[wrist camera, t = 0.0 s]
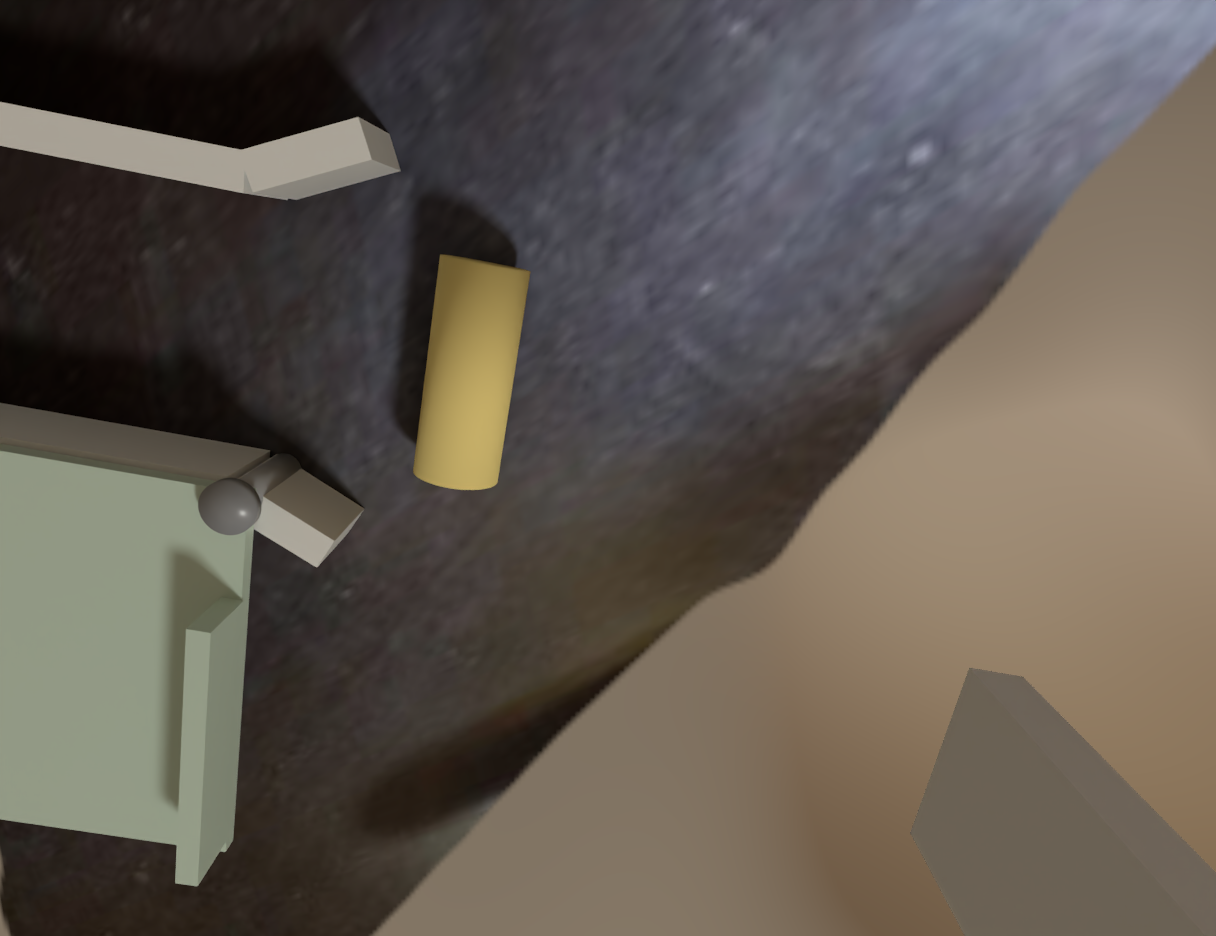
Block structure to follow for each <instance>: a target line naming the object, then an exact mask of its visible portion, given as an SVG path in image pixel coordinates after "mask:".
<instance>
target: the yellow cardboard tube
mask: <svg viewBox="0 0 1216 936" xmlns="http://www.w3.org/2000/svg"><path fill="white" fill-rule="evenodd" d="M529 277H530V271H528V270H524V269H520V268H516V267H512V266H507V265H502V264H496V263H491V262H486V261H481V260H476V259H470V258H464V257H458V256H451V255H442V254H441V255H440V259H439V267H438V275H437V284H436V292H435V300H434V308H433V316H432V324H431V332H430V340H429V348H428V356H427V364H426V372H425V380H424V388H423V396H422V404H421V412H420V420H419V428H418V436H417V444H416V452H415V460H414V468H413V472H414V474H415V475H416V476H417V477H418V478H419V479H421V480H423V481H425V482H428V483H431V484H434V485H437V486H441V487H446V488H452V489H461V490H480V489H486V488H490V487H493V486H495V485H496V484H497V482H498V475H499V469H500V463H501V456H502V450H503V443H504V437H505V431H506V424H507V418H508V411H509V405H510V399H511V392H512V386H513V379H514V373H515V367H516V360H517V354H518V348H519V341H520V335H521V328H522V322H523V316H524V309H525V303H526V296H527V290H528V284H529Z"/></svg>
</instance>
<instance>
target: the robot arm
mask: <svg viewBox="0 0 1216 936" xmlns="http://www.w3.org/2000/svg"><path fill="white" fill-rule="evenodd" d="M910 833H911V835H912V837H913V839H914V841H915V843H916V845H917V846H918V848H919V850H920V852H921V854H922V856H923V858H924V860H925V862H926V864H927V865H928V867H929V869H930V871H931V873H932V875H933V877H934V878H935V880H936V882H937V884H938V886H939V888H940V890H941V892H942V894H943V896H944V897H945V899H946V901H947V903H948V905H949V907H950V909H951V911H952V913H953V914H954V916H955V918H956V920H957V922H958V924H959V926H960V928H961V930H962V932H963V933H964V935H965V936H1216V872H1215V871H1214V870H1213V869H1212V868H1211V867H1210V866H1209V865H1208V864H1207V863H1206V862H1205V861H1204V860H1203V859H1202V858H1201V857H1200V856H1199V855H1198V854H1197V853H1196V852H1195V851H1194V850H1193V849H1192V848H1191V847H1190V846H1189V845H1188V844H1187V843H1186V842H1185V841H1184V840H1183V839H1182V838H1181V837H1180V836H1179V835H1178V834H1177V833H1176V832H1175V831H1174V830H1173V829H1172V828H1171V827H1170V826H1169V825H1168V823H1166V822H1165V820H1163V818H1162V817H1161V816H1159V814H1158V813H1157V812H1156V811H1155V810H1154V809H1153V808H1151V806H1150V805H1149V804H1148V803H1147V802H1146V801H1145V800H1144V799H1143V798H1142V797H1141V796H1140V795H1139V794H1138V793H1137V792H1136V791H1135V790H1134V789H1133V788H1132V787H1131V786H1130V785H1129V784H1128V783H1127V782H1126V781H1125V780H1124V779H1123V778H1122V777H1121V776H1120V775H1119V774H1118V773H1117V772H1116V771H1115V770H1114V769H1113V768H1112V767H1111V766H1110V765H1109V764H1108V763H1107V762H1106V761H1105V760H1104V759H1103V758H1102V757H1101V756H1100V755H1099V754H1098V753H1097V751H1096V750H1094V748H1092V746H1091V745H1089V743H1088V742H1087V741H1086V740H1085V739H1084V738H1083V737H1082V736H1081V735H1080V734H1079V733H1078V732H1077V731H1076V730H1075V729H1074V728H1073V727H1072V726H1071V725H1070V724H1069V723H1068V722H1067V721H1066V720H1065V719H1064V718H1063V717H1062V716H1061V715H1060V714H1059V713H1058V712H1057V711H1056V710H1055V709H1054V708H1053V707H1052V706H1051V705H1050V704H1049V703H1048V702H1047V701H1046V700H1045V699H1044V698H1043V697H1042V696H1041V695H1040V694H1039V693H1038V692H1037V691H1036V690H1035V689H1034V688H1033V687H1032V686H1031V685H1030V684H1029V683H1028V682H1027V681H1026V680H1025V679H1024V677H1020V676H1015V675H1009V674H1003V673H997V672H992V671H985V670H980V669H973V668H969V670H968V673H967V676H966V679H965V682H964V684H963V687H962V690H961V693H960V696H959V698H958V701H957V704H956V707H955V710H954V712H953V715H952V718H951V721H950V724H949V726H948V729H947V732H946V735H945V737H944V740H943V743H942V746H941V749H940V751H939V754H938V757H937V760H936V763H935V765H934V768H933V771H932V774H931V777H930V779H929V782H928V785H927V788H926V791H925V793H924V796H923V799H922V802H921V804H920V807H919V810H918V813H917V816H916V819H915V821H914V824H913V827H912V830H911V832H910Z"/></svg>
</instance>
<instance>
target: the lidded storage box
mask: <svg viewBox="0 0 1216 936" xmlns="http://www.w3.org/2000/svg"><path fill="white" fill-rule="evenodd" d="M0 146H5V147H10V148H16V149H21V150H26V151H31V152H36V153H41V154H46V155H51V156H56V157H62V158H67V159H72V160H77V161H82V162H87V163H92V164H97V165H102V166H108V167H113V168H118V169H123V170H128V171H133V172H138V173H143V174H148V175H154V176H159V177H164V178H169V179H174V180H179V181H184V182H189V183H194V184H200V185H205V186H210V187H215V188H220V189H225V190H230V191H235V192H240V193H246V194H252V195H259V196H265V197H271V198H278V199H284V200H288V198H289V199H295V200H297V199H301V198H304V197H308V196H312V195H315V194H319V193H322V192H326V191H330V190H333V189H337V188H341V187H344V186H348V185H351V184H355V183H359V182H362V181H366V180H370V179H373V178H377V177H380V176H384V175H388V174H391V173H395V172H399V171H401V170H400V167H399V164H398V161H397V157H396V154H395V151H394V148H393V144H392V141H391V138H390V135H389V133H387V132H385V131H383V130H381V129H380V128H378V127H376V126H374V125H372V124H370V123H369V122H367V121H365V120H363V119H361V118H359V117H356V118H353V119H349V120H345V121H342V122H338V123H335V124H331V125H328V126H324V127H321V128H317V129H313V130H310V131H306V132H303V133H299V134H296V135H292V136H289V137H285V138H281V139H278V140H274V141H271V142H267V143H264V144H260V145H257V146H253V147H249V148H246V149H242V150H240V149H234V148H229V147H224V146H219V145H214V144H209V143H204V142H199V141H194V140H189V139H184V138H179V137H174V136H169V135H164V134H159V133H154V132H149V131H144V130H139V129H134V128H129V127H124V126H119V125H114V124H109V123H104V122H99V121H94V120H89V119H84V118H79V117H74V116H69V115H64V114H59V113H54V112H49V111H43V110H38V109H33V108H28V107H23V106H18V105H13V104H8V103H3V102H0ZM0 444H5V445H11V446H17V447H23V448H28V449H34V450H40V451H46V452H51V453H57V454H63V455H69V456H75V457H80V458H86V459H92V460H98V461H103V462H109V463H115V464H121V465H126V466H132V467H138V468H144V469H149V470H155V471H161V472H167V473H172V474H178V475H184V476H190V477H196V478H201V479H207V480H213V481H217V480H220V479H223V478H237V479H240V480H243V481H245V482H247V483H248V484H249V485H251V486H252V487H253V488H256V492H257V494H258V495H259V498H260V500H261V514H260V517H259V519H258V520H257V522H256V523H255V524H254V529H255V530H256V531H258V532H260V533H261V534H263V535H265V536H266V537H268V538H269V539H271V540H273V541H274V542H276V543H278V544H279V545H281V546H282V547H284V548H286V549H287V550H289V551H291V552H292V553H294V554H295V555H297V556H299V557H300V558H302V559H304V560H305V561H307V562H309V563H310V564H312V565H313V566H315V567H318V566H319V565H320V564H321V563H322V561H323V560H324V559H325V558H326V557H327V556H328V555H329V554H330V553H331V551H332V550H333V549H334V548H335V547H336V546H337V545H338V544H339V543H340V541H341V540H342V539H343V538H344V537H345V536H346V535H347V534H348V532H349V531H350V529H351V528H352V526H353V525H354V523H355V522H356V520H357V519H358V517H359V516H360V514H361V513H362V511H363V510H364V508H362V507H361V506H359V505H358V504H356V503H355V502H353V501H351V500H350V499H348V498H347V497H345V496H344V495H342V494H340V493H339V492H337V491H336V490H334V489H333V488H331V487H329V486H328V485H326V484H325V483H323V482H322V481H320V480H318V479H317V478H315V477H314V476H312V475H311V474H309V473H307V472H306V471H304V470H303V469H301V465H300V463H299V461H298V460H297V459H296V458H295V457H294V456H292V455H290V454H287V453H280V454H276V455H274V456H273V457H271V458H270V450H265V449H259V448H253V447H248V446H242V445H236V444H231V443H225V442H219V441H214V440H208V439H202V438H197V437H191V436H185V435H180V434H174V433H168V432H163V431H157V430H151V429H146V428H140V427H134V426H129V425H123V424H117V423H112V422H106V421H100V420H95V419H89V418H84V417H78V416H72V415H67V414H61V413H55V412H50V411H44V410H38V409H33V408H27V407H21V406H16V405H10V404H4V403H0Z"/></svg>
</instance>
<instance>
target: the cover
mask: <svg viewBox="0 0 1216 936" xmlns="http://www.w3.org/2000/svg"><path fill="white" fill-rule="evenodd" d="M260 514H261V500H260V498H259V495H258V494H257V492H256V488H253V487H252V486H251V485H249V484H248V483H247V482H245V481H243V480H240V479H237V478H223V479H220V480H217V481H213V480H207V479H201V478H196V477H190V476H184V475H178V474H172V473H167V472H161V471H155V470H149V469H144V468H138V467H132V466H126V465H121V464H115V463H109V462H103V461H98V460H92V459H86V458H80V457H75V456H69V455H63V454H57V453H51V452H46V451H40V450H34V449H28V448H23V447H17V446H11V445H5V444H0V819H2V820H9V821H16V822H23V823H30V824H37V825H44V826H50V827H57V828H64V829H71V830H78V831H85V832H92V833H99V834H105V835H112V836H119V837H126V838H133V839H140V840H147V841H153V842H160V843H167V844H174V845H177V854H176V878H175V883H178V884H185V885H192V886H198V885H199V883H200V882H201V880H202V879H203V877H204V875H205V874H206V872H207V871H208V869H209V868H210V866H211V864H212V863H213V861H214V860H215V858H216V856H217V855H218V853H219V852H220V851H222V852H226V851H227V849H228V847H229V846H230V844H231V843H232V841H233V833H234V818H235V803H236V788H237V773H238V758H239V743H240V728H241V713H242V698H243V683H244V667H245V652H246V637H247V622H248V607H249V592H250V577H251V562H252V547H253V532H254V524H255V523H256V522H257V520H258V519H259V517H260Z"/></svg>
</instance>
